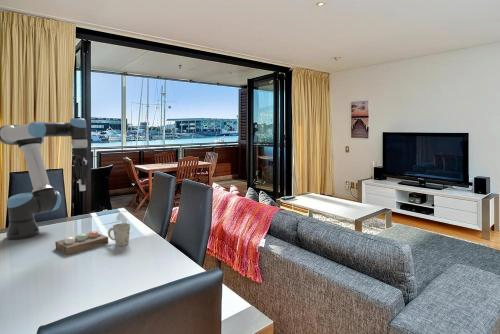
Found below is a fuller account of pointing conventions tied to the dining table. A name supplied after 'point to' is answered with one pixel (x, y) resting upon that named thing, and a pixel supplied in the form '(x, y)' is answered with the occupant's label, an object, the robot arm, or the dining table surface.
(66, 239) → the button cream
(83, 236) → the button sage
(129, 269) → the dining table surface
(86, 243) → the button panel
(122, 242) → the mug
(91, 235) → the button terracotta
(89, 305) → the dining table surface
